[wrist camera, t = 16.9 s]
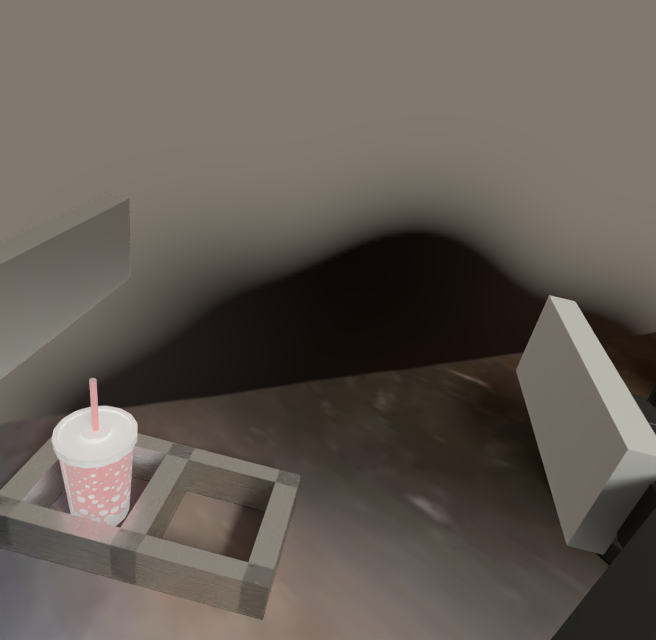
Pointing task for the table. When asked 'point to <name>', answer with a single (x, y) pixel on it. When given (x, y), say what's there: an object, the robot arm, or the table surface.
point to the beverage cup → (97, 460)
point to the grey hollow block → (156, 524)
